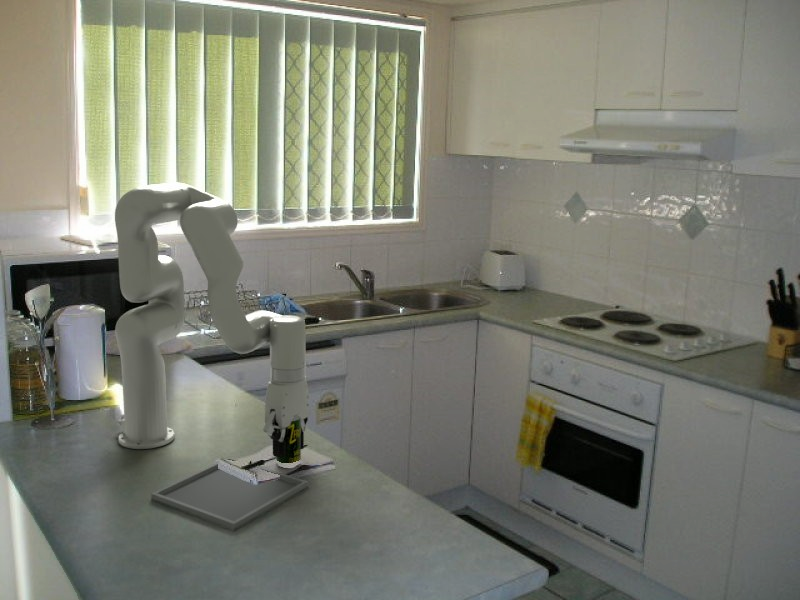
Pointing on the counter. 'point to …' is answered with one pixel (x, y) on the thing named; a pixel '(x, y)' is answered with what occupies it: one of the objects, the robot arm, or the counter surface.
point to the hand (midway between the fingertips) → (288, 451)
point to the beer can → (292, 441)
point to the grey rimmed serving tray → (227, 496)
